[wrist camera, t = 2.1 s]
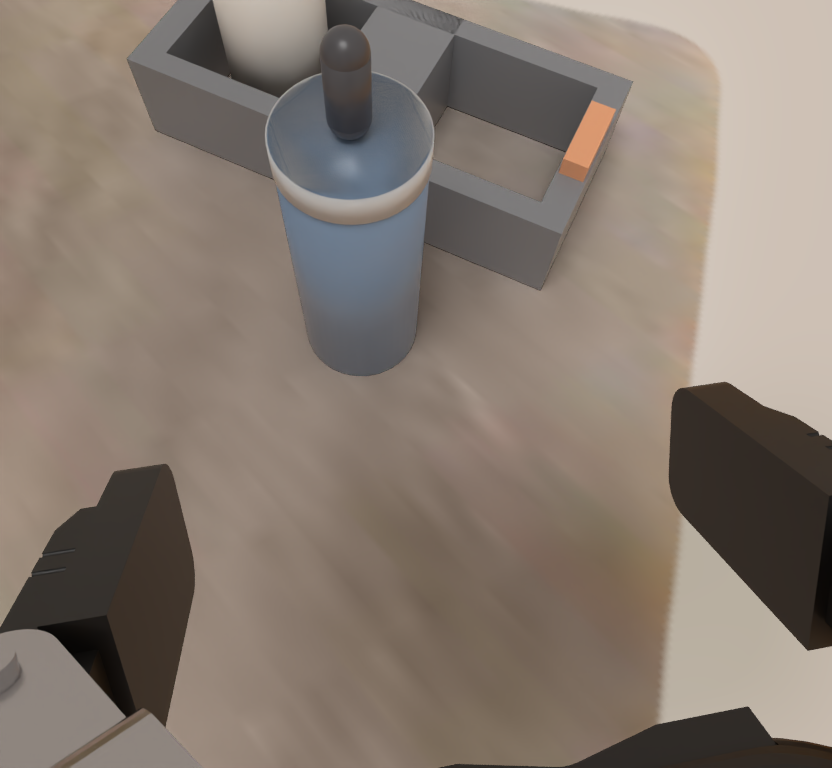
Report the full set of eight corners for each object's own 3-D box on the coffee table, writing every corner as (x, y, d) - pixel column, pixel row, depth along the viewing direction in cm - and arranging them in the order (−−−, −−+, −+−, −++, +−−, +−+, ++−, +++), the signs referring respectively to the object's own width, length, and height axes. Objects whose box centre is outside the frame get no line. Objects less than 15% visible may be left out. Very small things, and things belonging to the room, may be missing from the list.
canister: (285, 348, 29) (205, 62, 16) (338, 262, 31) (303, -60, 18) (387, 395, 28) (389, 136, 15) (435, 304, 30) (474, 1, 17)
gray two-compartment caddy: (154, 130, 33) (6, -241, 20) (249, 12, 36) (174, -374, 23) (540, 290, 31) (655, -16, 18) (606, 149, 34) (745, -199, 21)
